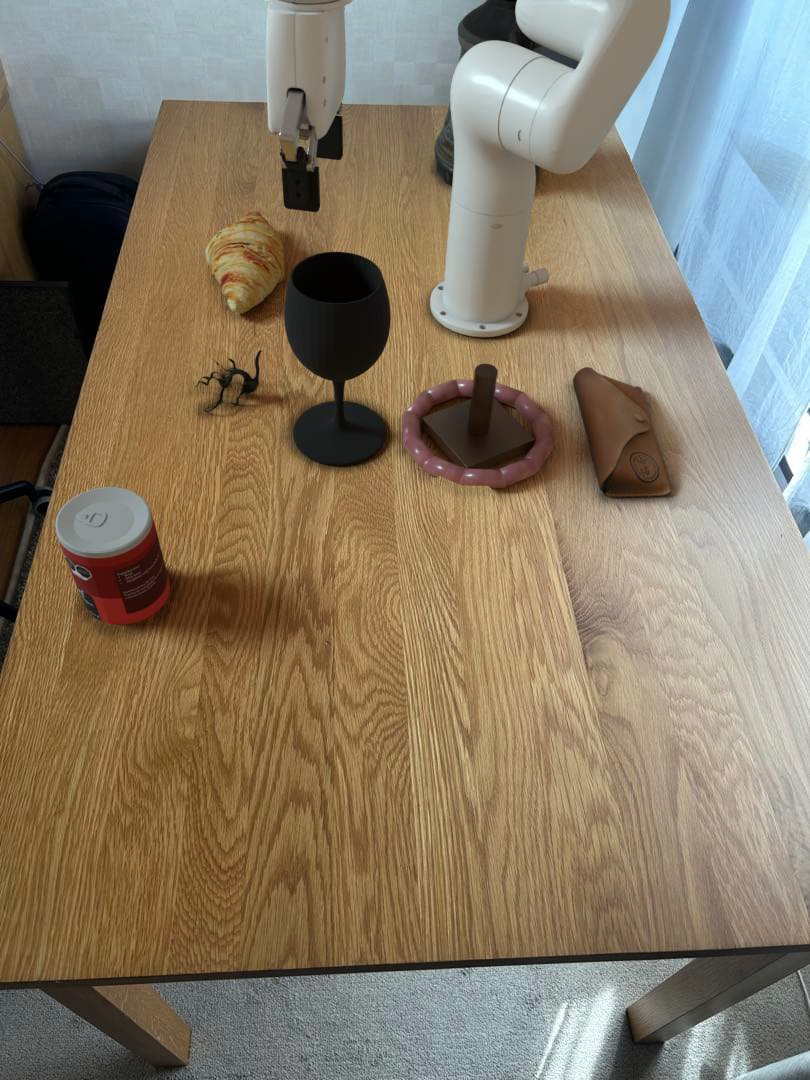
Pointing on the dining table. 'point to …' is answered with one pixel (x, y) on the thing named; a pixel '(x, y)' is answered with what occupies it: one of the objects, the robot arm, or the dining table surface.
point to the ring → (477, 476)
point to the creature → (248, 382)
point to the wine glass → (337, 350)
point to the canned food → (114, 554)
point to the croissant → (246, 261)
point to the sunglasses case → (620, 437)
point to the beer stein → (475, 28)
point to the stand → (478, 427)
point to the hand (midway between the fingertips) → (314, 182)
